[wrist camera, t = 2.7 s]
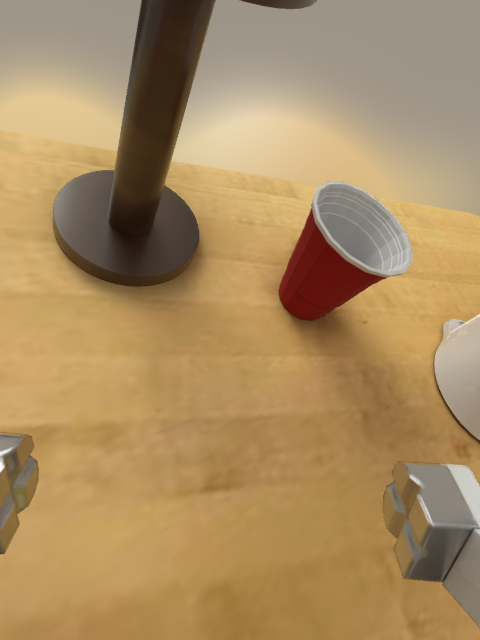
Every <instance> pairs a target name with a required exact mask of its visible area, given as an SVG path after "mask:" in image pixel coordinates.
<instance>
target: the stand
mask: <svg viewBox="0 0 480 640" xmlns="http://www.w3.org/2000/svg"><path fill="white" fill-rule="evenodd" d="M215 1H216V0H142V1H141V7H140V13H139V20H138V26H137V33H136V39H135V46H134V51H133V57H132V64H131V70H130V77H129V83H128V89H127V96H126V102H125V108H124V115H123V121H122V127H121V133H120V140H119V146H118V152H117V158H116V165H115V170H104V171H96V172H91V173H87V174H84V175H81V176H79V177H77V178H75V179H73V180H72V181H70V182H69V183H67V184H66V185H65V186H64V187H63V188H62V189H61V191H60V192H59V193H58V195H57V197H56V199H55V203H54V207H53V229H54V234H55V237H56V240H57V242H58V244H59V245H60V247H61V249H62V250H63V251H64V253H65V254H66V255H67V256H68V257H69V258H70V259H71V260H72V261H73V262H74V263H75V264H76V265H77V266H79V267H80V268H82V269H83V270H85V271H86V272H88V273H90V274H92V275H94V276H96V277H98V278H100V279H103V280H105V281H108V282H112V283H116V284H121V285H127V286H149V285H156V284H159V283H163V282H166V281H168V280H171V279H173V278H174V277H176V276H178V275H179V274H180V273H182V272H183V271H184V270H185V269H186V268H187V266H188V265H189V264H190V262H191V260H192V258H193V256H194V253H195V251H196V248H197V246H198V242H199V229H198V224H197V221H196V218H195V216H194V214H193V212H192V211H191V209H190V208H189V206H188V205H187V204H186V203H185V202H184V200H183V199H181V198H180V197H179V196H178V195H177V194H176V193H175V192H173V191H172V190H171V189H169V188H168V187H166V186H165V185H164V184H165V180H166V177H167V173H168V170H169V166H170V163H171V159H172V155H173V152H174V148H175V145H176V141H177V137H178V134H179V130H180V126H181V123H182V119H183V116H184V112H185V109H186V105H187V102H188V98H189V94H190V91H191V87H192V83H193V80H194V77H195V73H196V69H197V66H198V62H199V59H200V55H201V51H202V48H203V44H204V41H205V37H206V33H207V30H208V26H209V23H210V19H211V15H212V12H213V8H214V5H215ZM241 1H244V2H248V3H252V4H257V5H261V6H266V7H273V8H281V9H282V8H283V9H299V8H304V7H308V6H311V5H312V4H314V3H315V2H316V1H317V0H241Z"/></svg>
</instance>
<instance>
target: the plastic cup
mask: <svg viewBox="0 0 480 640" xmlns="http://www.w3.org/2000/svg"><path fill="white" fill-rule="evenodd" d="M311 207H312V208H311V211H310V214H309V216H308V218H307V221H306V224H305V227H304V229H303V231H302V233H301V236H300V238H299V240H298V242H297V245H296V247H295V249H294V251H293V254H292V256H291V258H290V260H289V263H288V266H287V269H286V272H285V274H284V276H283V278H282V281H281V284H280V289H279V295H280V300H281V301H282V303H283V305H284V307H285V308H286V309H287V310H288V311H289V312H290V313H291V314H293V315H294V316H296V317H298V318H300V319H304V320H310V321H311V320H315V319H319V318H320V317H323V316H325V315H326V314H327V313H329V312H330V311H332V310H333V309H335V308H336V307H339V306H341V305H342V304H344V303H345V302H347V301H348V300H350V299H351V298H353V297H354V296H356V295H357V294H359V293H360V292H362V291H363V290H365V289H366V288H368V287H369V286H371V285H372V284H375V283H377V282H379V281H380V280H382V279H386V278H387V277H390V276H396V275H401V274H403V273H405V271H406V270H407V269H408V268H409V267H410V265H411V264H412V247H411V244H410V241H409V239H408V236H407V233H406V231H405V230H404V228H403V227H402V226H401V224H400V223H399V221H398V220H397V218H396V217H395V216H394V215H393V214H392V213H391V212H390V211H389V210H388V209H387V208H386V207H385V206H384V205H383V204H382V203H381V202H380V201H379V200H378V199H376V198H375V197H373V196H371V195H370V194H368V193H367V192H365V191H364V190H362V189H361V188H358V187H355V186H353V185H350V184H347V183H344V182H326V183H325V184H323V185H321V186H319V187H318V188H317V189H316V192H315V195H314V198H313V201H312V204H311Z"/></svg>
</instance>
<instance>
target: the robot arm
mask: <svg viewBox="0 0 480 640" xmlns="http://www.w3.org/2000/svg"><path fill="white" fill-rule="evenodd" d="M434 369H435V376H436V380H437V383H438V386H439V389H440V391H441V393H442V396H443V398H444V400H445V401H446V403H447V405H448V407H449V408H450V410H451V411H452V413H453V414H454V415H455V417H456V418H457V419H458V420H459V422H460V423H461V424H462V425H463V426H464V427H465V428H466V429H467V430H468V431H469V432H470V433H471V434H472V435H473V436H474V437H476V438H477V439H478V440H479V441H480V314H479V315H477V316H476V317H474V318H472V319H471V320H469V321H463V320H457V319H451V320H449V321H447V322H445V323H444V325H443V340H442V342H441V344H440V345H439V347H438V349H437V351H436V354H435V359H434ZM33 449H34V444H33V440H32V436H30V435H27V434H17V433H6V432H0V554H5V552H6V550H7V548H8V546H9V544H10V542H11V540H12V538H13V536H14V534H15V532H16V530H17V528H18V526H19V520H18V516H17V514H18V513H19V512H21V511H22V510H24V509H25V508H26V507H28V506H29V504H30V502H31V500H32V498H33V496H34V494H35V490H36V487H37V483H38V474H39V469H38V463H37V461H36V460H35V459H34V458H33V457H32V456H31V455H30V454H31V452H32V450H33ZM392 475H393V477H394V480H395V481H393V482H392V483H390V484H389V485H387V486H386V489H385V492H384V495H383V514H384V520H385V523H386V526H387V529H388V530H389V531H390V532H391V533H392V534H393V535H394V536H395V537H396V538H397V541H396V544H395V546H394V551H395V554H396V557H397V561H398V564H399V567H400V570H401V573H402V576H403V579H411V580H422V581H433V582H444V583H443V586H444V587H445V588H446V589H447V590H448V592H449V593H450V594H451V595H452V596H453V597H454V599H455V600H456V601H457V602H458V603H459V605H460V606H461V607H462V608H463V609H464V610H465V612H466V613H467V614H468V615H469V616H470V617H471V619H472V620H473V621H474V622H475V623H476V625H477V626H478V627H479V628H480V485H479V483H478V481H477V479H476V478H475V476H474V474H473V473H472V471H471V470H470V469H469V468H468V467H467V466H466V465H453V464H439V463H423V462H407V461H399V462H397V463H396V464H395V466H394V468H393V471H392Z"/></svg>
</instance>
